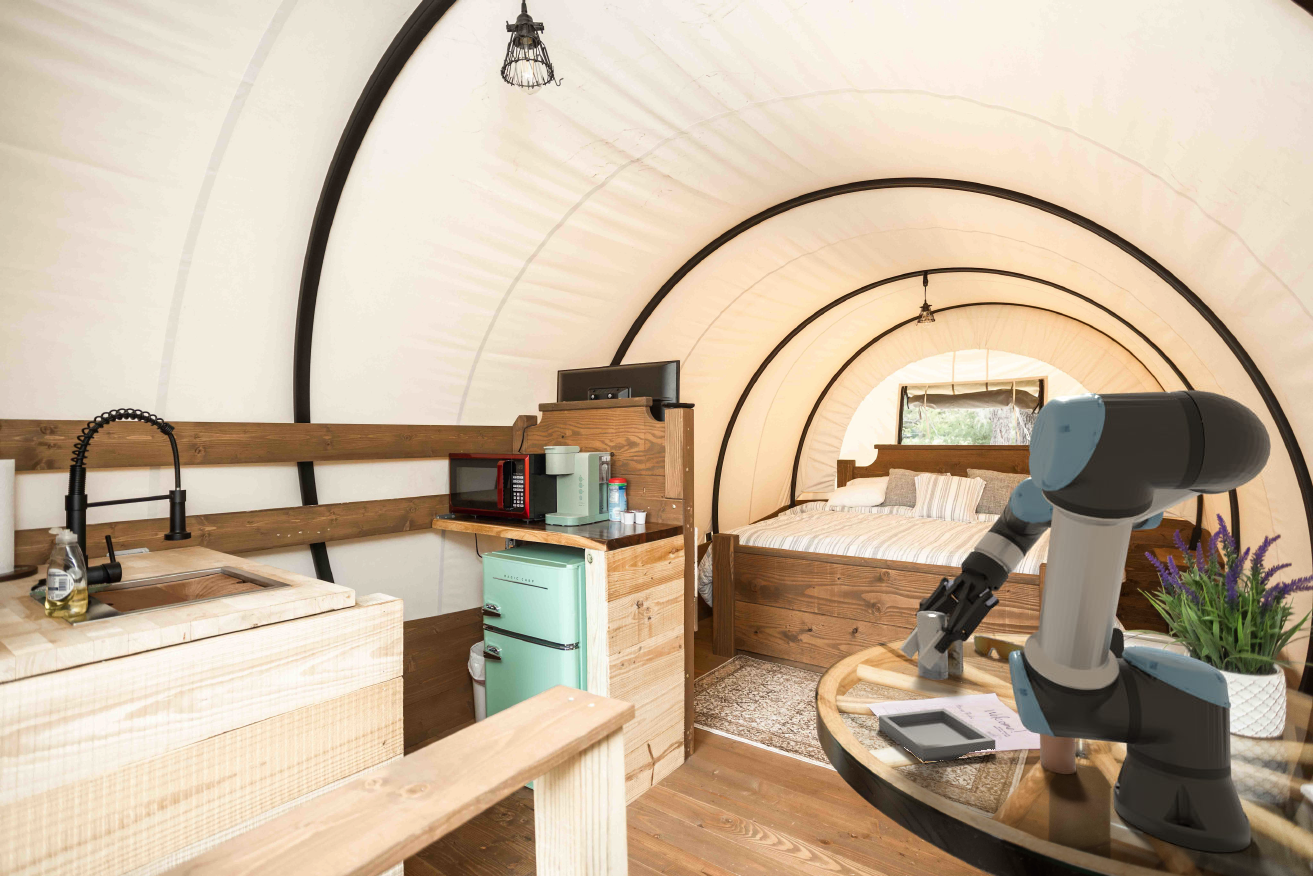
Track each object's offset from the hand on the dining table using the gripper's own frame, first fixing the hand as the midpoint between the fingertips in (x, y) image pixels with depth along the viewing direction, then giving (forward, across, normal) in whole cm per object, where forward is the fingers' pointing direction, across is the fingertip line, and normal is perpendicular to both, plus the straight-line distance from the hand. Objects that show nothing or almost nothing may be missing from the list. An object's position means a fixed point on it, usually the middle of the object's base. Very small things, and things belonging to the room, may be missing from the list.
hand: (914, 658), depth 117 cm
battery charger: (-32, +20, -55) cm, 66 cm away
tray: (+8, 0, -13) cm, 16 cm away
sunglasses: (-26, +40, -49) cm, 68 cm away
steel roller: (0, 0, -5) cm, 5 cm away
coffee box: (-9, +33, -31) cm, 46 cm away
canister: (-2, -13, -23) cm, 27 cm away
